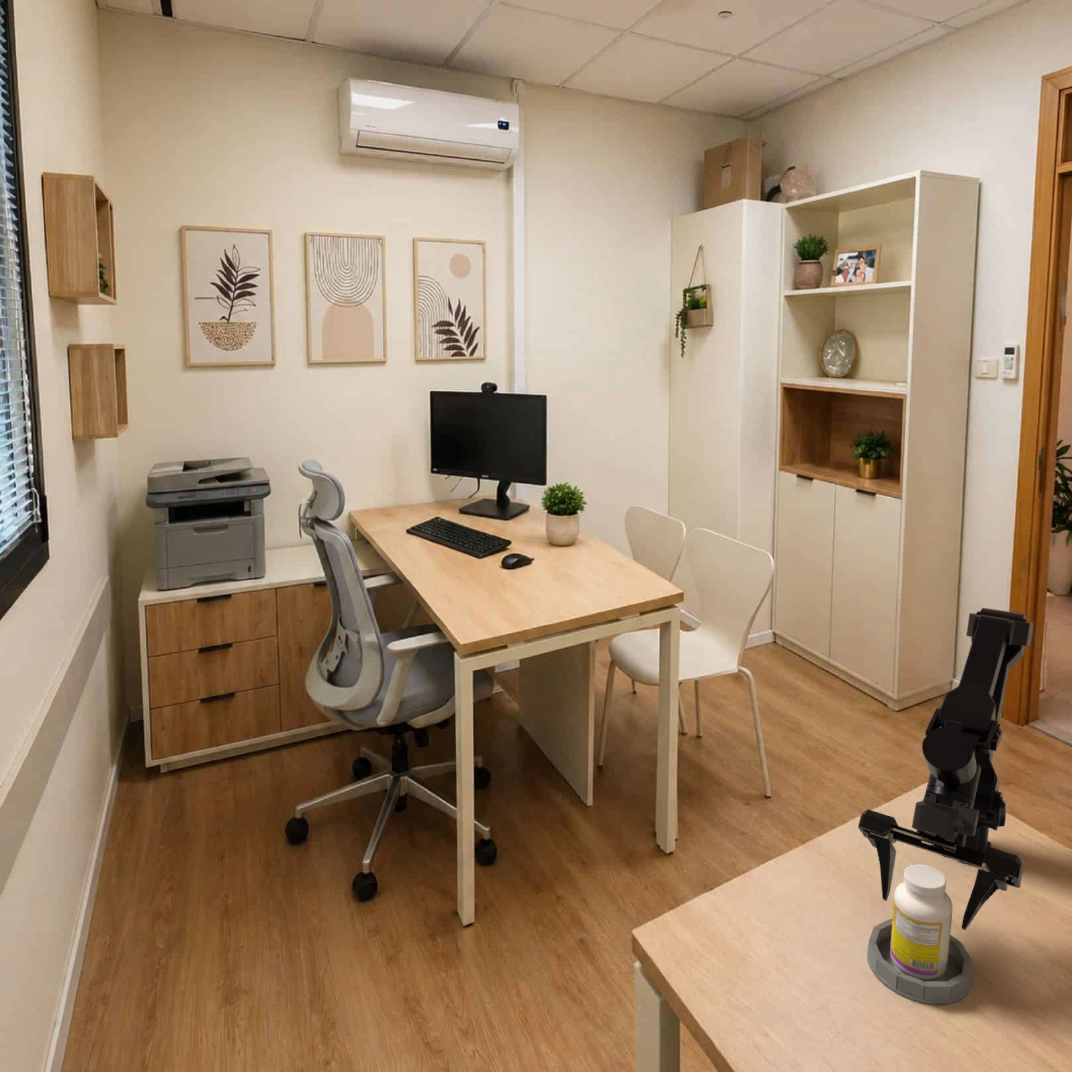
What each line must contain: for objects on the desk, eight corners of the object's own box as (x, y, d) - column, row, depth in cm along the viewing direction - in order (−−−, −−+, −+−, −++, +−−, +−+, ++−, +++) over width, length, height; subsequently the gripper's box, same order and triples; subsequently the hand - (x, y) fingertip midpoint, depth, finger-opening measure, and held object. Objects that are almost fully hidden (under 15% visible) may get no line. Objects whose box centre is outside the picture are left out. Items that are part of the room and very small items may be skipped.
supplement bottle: (913, 936, 109) (921, 852, 106) (958, 970, 103) (967, 882, 100) (877, 955, 106) (884, 869, 103) (921, 990, 101) (930, 900, 97)
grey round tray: (878, 921, 113) (879, 906, 112) (976, 955, 106) (978, 938, 106) (857, 979, 103) (858, 963, 103) (964, 1020, 97) (966, 1002, 96)
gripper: (866, 755, 108) (835, 872, 103) (1029, 799, 97) (1004, 933, 92) (880, 780, 116) (851, 891, 111) (1032, 824, 105) (1008, 949, 100)
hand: (923, 914), depth 103 cm, fingers open, 9 cm apart
